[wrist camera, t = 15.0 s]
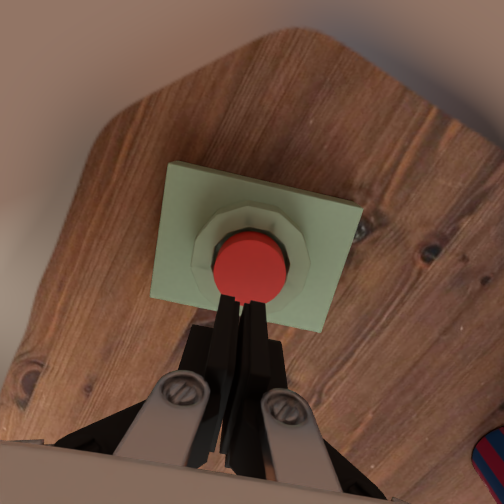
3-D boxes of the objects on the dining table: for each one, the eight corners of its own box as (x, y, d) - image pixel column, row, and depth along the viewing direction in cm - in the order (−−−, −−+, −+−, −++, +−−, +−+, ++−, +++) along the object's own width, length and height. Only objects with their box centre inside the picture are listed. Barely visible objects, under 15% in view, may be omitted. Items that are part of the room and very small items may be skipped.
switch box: (158, 283, 24) (140, 310, 20) (176, 159, 21) (158, 164, 18) (315, 317, 25) (326, 349, 21) (354, 201, 22) (374, 214, 18)
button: (211, 285, 20) (207, 299, 19) (224, 223, 19) (220, 232, 17) (274, 299, 20) (276, 313, 19) (291, 239, 19) (294, 248, 18)
